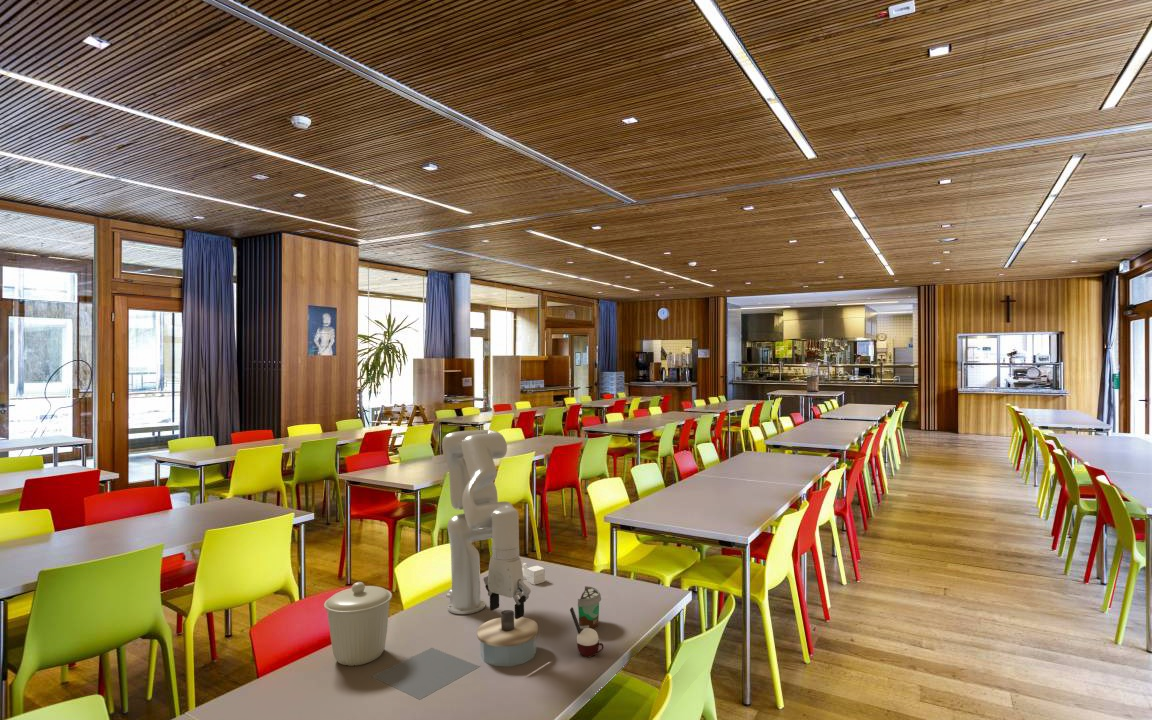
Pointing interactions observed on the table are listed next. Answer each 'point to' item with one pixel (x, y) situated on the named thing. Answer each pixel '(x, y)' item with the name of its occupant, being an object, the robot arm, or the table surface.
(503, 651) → the bowl
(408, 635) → the table surface
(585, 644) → the cocoa
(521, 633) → the lid
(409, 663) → the mat
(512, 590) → the robot arm
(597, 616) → the food container
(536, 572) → the container set
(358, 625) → the canister
